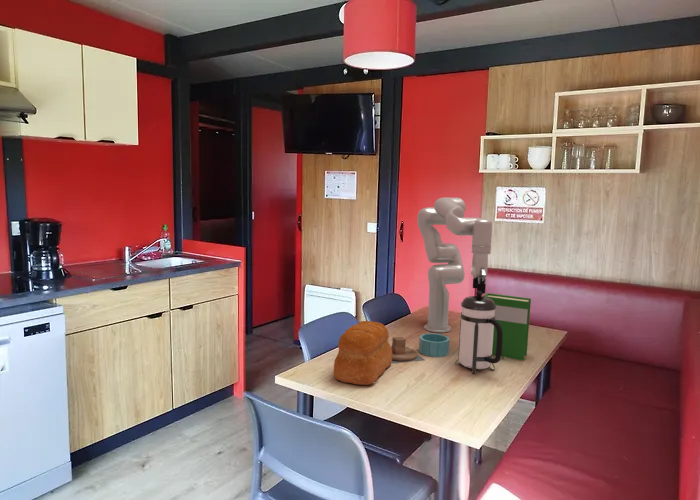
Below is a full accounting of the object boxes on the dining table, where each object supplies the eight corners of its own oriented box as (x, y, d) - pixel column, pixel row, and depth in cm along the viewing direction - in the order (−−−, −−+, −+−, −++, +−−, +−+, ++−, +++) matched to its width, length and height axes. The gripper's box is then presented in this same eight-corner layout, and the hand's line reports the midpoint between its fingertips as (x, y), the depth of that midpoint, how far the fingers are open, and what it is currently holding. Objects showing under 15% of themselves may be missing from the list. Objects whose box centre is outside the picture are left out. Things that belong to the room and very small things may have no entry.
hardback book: (526, 355, 200) (530, 298, 196) (523, 360, 193) (528, 302, 190) (483, 347, 208) (487, 293, 205) (479, 352, 201) (483, 296, 198)
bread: (329, 381, 168) (329, 333, 166) (357, 356, 192) (357, 314, 189) (371, 388, 162) (372, 339, 160) (395, 362, 186) (395, 318, 183)
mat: (372, 351, 199) (372, 350, 199) (407, 348, 204) (407, 346, 204) (387, 365, 184) (387, 363, 184) (425, 361, 189) (425, 360, 189)
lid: (374, 350, 199) (374, 334, 198) (407, 347, 204) (408, 331, 203) (388, 363, 185) (389, 345, 184) (423, 359, 189) (424, 342, 189)
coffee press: (450, 372, 179) (455, 293, 175) (458, 358, 194) (462, 285, 190) (499, 380, 172) (505, 298, 168) (503, 365, 187) (508, 289, 183)
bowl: (414, 349, 203) (414, 334, 202) (439, 347, 207) (440, 332, 206) (427, 359, 192) (428, 343, 191) (454, 356, 195) (454, 341, 195)
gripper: (468, 246, 206) (466, 286, 208) (475, 252, 189) (473, 295, 191) (486, 247, 205) (483, 286, 207) (495, 252, 188) (492, 295, 190)
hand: (478, 290), depth 199 cm, fingers open, 9 cm apart
